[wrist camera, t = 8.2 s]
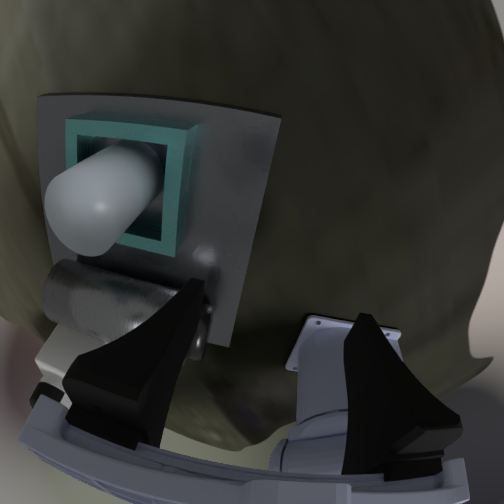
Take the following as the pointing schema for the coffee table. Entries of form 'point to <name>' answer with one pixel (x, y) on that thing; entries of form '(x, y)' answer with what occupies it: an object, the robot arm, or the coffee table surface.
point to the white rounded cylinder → (103, 196)
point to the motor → (159, 210)
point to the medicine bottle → (60, 361)
